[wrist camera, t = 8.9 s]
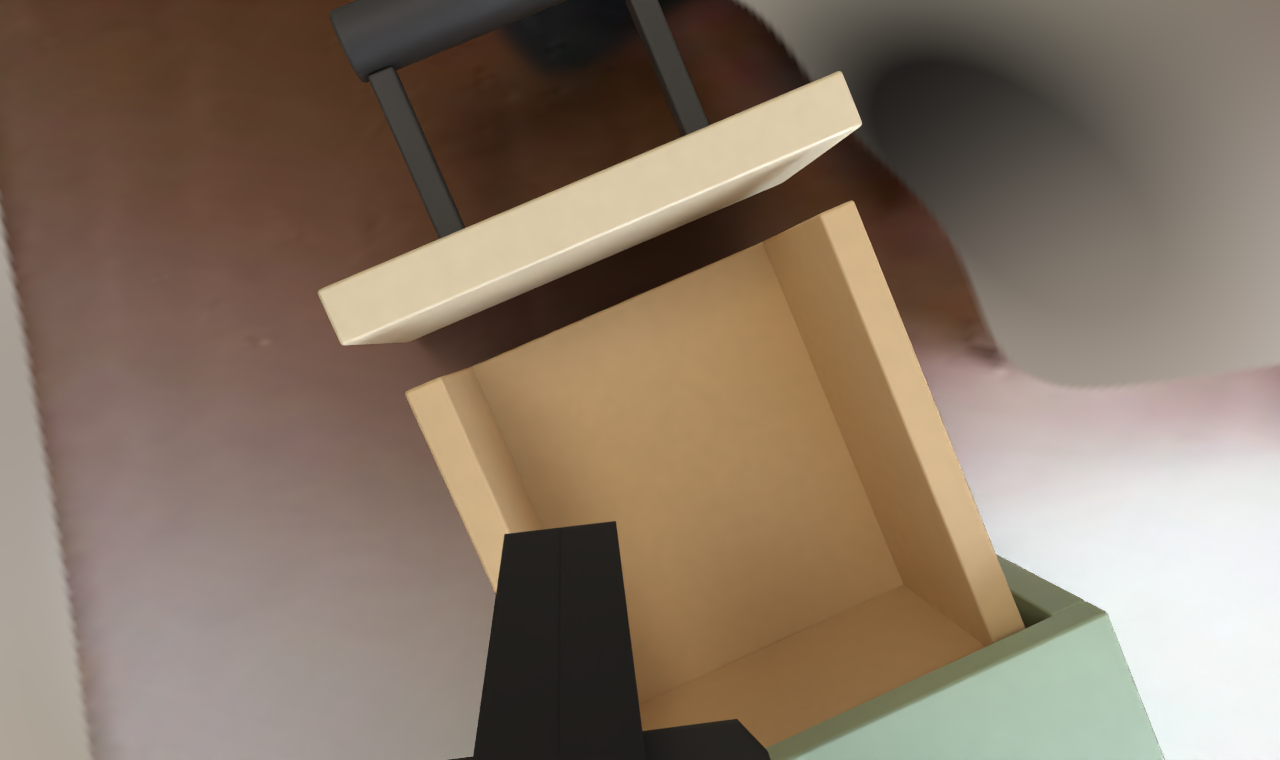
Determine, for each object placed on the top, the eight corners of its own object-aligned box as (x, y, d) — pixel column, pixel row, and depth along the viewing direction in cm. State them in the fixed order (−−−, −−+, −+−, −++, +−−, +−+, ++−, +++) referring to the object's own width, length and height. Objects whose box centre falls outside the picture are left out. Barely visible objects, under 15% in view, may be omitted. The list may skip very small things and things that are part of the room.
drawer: (297, 102, 24) (186, 9, 17) (687, -57, 24) (731, -209, 17) (585, 740, 25) (589, 891, 18) (945, 576, 26) (1079, 664, 19)
